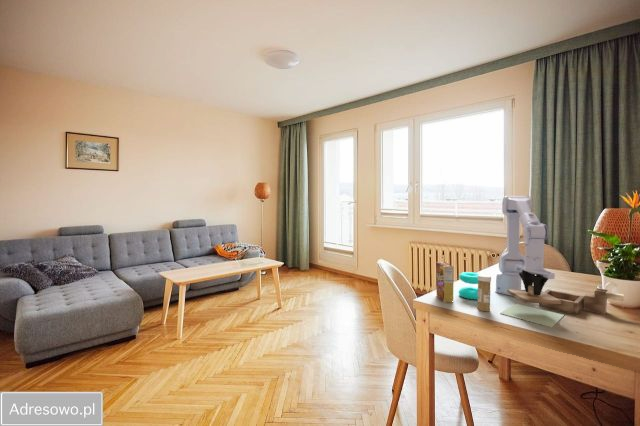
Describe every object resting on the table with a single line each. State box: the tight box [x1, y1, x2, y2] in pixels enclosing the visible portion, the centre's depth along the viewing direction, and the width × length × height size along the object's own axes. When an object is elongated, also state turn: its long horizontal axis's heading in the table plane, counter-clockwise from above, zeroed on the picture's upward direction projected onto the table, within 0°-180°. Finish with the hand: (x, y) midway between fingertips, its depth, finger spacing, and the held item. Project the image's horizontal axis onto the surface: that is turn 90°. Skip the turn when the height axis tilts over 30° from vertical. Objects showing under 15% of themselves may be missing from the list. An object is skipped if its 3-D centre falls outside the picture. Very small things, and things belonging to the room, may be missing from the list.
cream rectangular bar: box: [593, 289, 625, 302], centre depth 117 cm, size 8×2×2 cm, turn 41°
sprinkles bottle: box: [476, 273, 492, 312], centre depth 121 cm, size 5×5×14 cm
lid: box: [507, 285, 561, 304], centre depth 116 cm, size 12×12×4 cm
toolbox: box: [538, 289, 585, 316], centre depth 124 cm, size 12×12×4 cm
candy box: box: [435, 261, 455, 303], centre depth 133 cm, size 9×4×15 cm, turn 179°
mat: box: [499, 303, 565, 328], centre depth 116 cm, size 16×16×1 cm
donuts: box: [458, 271, 480, 301], centre depth 137 cm, size 10×10×10 cm
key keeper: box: [583, 287, 608, 315], centre depth 120 cm, size 6×4×8 cm, turn 41°
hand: (532, 293), depth 116 cm, fingers closed on lid, 3 cm apart
